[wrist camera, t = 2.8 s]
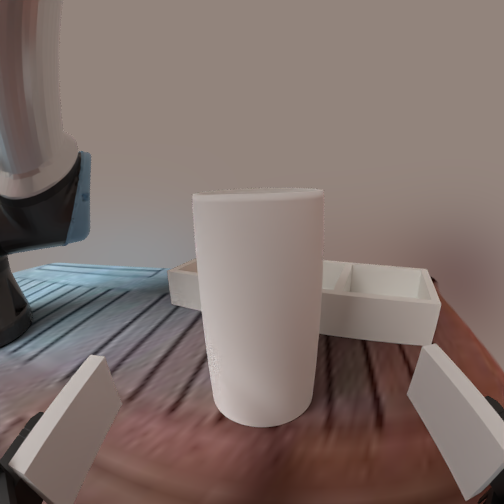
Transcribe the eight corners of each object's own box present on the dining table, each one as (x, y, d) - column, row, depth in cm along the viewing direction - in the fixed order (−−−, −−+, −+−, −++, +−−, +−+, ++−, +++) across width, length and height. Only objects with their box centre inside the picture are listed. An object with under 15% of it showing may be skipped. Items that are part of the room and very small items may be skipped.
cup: (196, 385, 23) (172, 194, 19) (270, 353, 27) (267, 187, 23) (252, 444, 16) (239, 196, 12) (332, 393, 21) (350, 190, 17)
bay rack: (171, 304, 39) (167, 270, 38) (216, 277, 50) (214, 249, 49) (430, 346, 25) (441, 304, 24) (421, 301, 36) (426, 268, 34)
